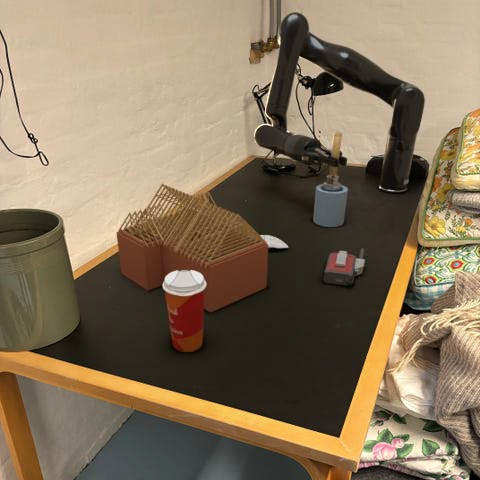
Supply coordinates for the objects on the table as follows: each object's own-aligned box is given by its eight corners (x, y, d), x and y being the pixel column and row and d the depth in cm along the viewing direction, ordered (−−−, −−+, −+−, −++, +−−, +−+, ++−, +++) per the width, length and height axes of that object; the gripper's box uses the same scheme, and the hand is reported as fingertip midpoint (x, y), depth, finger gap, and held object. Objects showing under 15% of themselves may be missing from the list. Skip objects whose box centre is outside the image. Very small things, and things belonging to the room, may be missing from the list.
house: (120, 272, 119) (110, 193, 109) (197, 246, 133) (194, 173, 122) (193, 320, 102) (189, 231, 92) (273, 284, 115) (277, 203, 105)
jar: (314, 214, 153) (317, 182, 148) (344, 217, 152) (348, 184, 147) (311, 225, 146) (314, 191, 141) (343, 228, 144) (347, 194, 139)
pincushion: (289, 244, 134) (290, 224, 131) (287, 254, 129) (288, 233, 126) (244, 241, 136) (245, 221, 133) (241, 250, 131) (241, 230, 128)
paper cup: (168, 333, 98) (163, 268, 90) (207, 331, 98) (205, 267, 91) (166, 356, 91) (160, 289, 84) (208, 355, 92) (206, 288, 84)
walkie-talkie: (360, 290, 113) (366, 254, 129) (362, 273, 111) (368, 238, 127) (321, 285, 115) (332, 250, 131) (323, 268, 113) (333, 234, 129)
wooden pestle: (323, 193, 147) (330, 129, 138) (338, 195, 147) (347, 130, 137) (321, 198, 144) (329, 132, 134) (338, 200, 143) (346, 133, 133)
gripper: (284, 138, 144) (324, 152, 132) (321, 133, 151) (362, 145, 138) (283, 164, 148) (321, 180, 136) (319, 158, 155) (358, 172, 143)
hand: (342, 162), depth 137 cm, fingers closed on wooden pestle
